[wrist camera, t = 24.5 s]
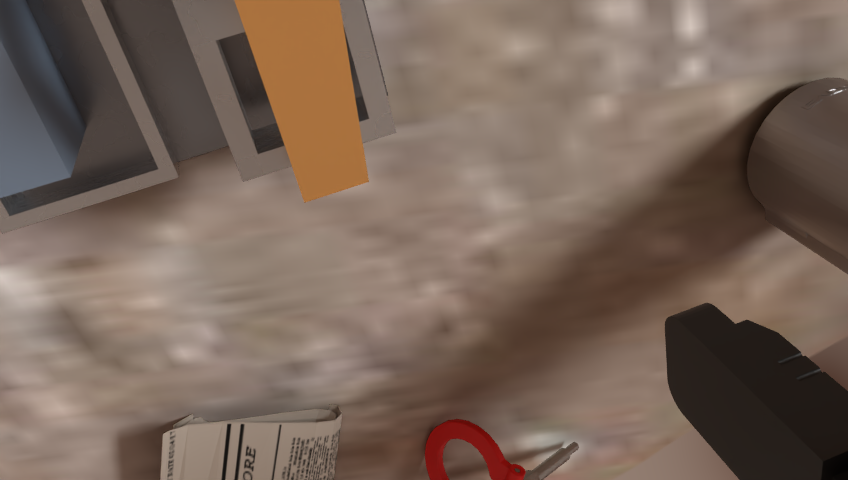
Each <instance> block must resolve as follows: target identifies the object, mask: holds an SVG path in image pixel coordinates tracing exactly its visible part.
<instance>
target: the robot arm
mask: <svg viewBox="0 0 848 480" xmlns="http://www.w3.org/2000/svg"><path fill="white" fill-rule="evenodd" d="M747 179H748V183H749V188H750V190H751V192H752V193H753V195H754V197H755V198H756V199H757V200H758V201H759V202H760V203H761V204H762V205H763V206H764V208H765V220H767V221H768V222H770V223H771V224H773V225H774V226H776V227H777V228H779V229H780V230H782V231H783V232H785V233H786V234H788V235H789V236H791V237H792V238H794V239H795V240H797V241H798V242H800V243H801V244H803V245H804V246H806V247H807V248H809V249H810V250H812V251H813V252H815V253H816V254H818V255H819V256H821V257H822V258H824V259H825V260H827V261H828V262H830V263H831V264H833V265H835V266H836V267H838V268H839V269H841V270H842V271H844V272H845V273H847V274H848V81H847V80H844V79H841V78H824V79H820V80H816V81H812V82H810V83H808V84H806V85H804V86H801V87H799V88H798V89H796V90H795V91H794V92H792V93H791V94H789V95H788V96H786V97H785V98H784V99H783V100H782V101H781V102H780V103H779V104H778V105H777V106H776V107H775V108H774V109H773V110H772V111H771V113H770V114H769V115H768V116H767V117H766V119H765V120H764V122H763V123H762V125H761V127H760V128H759V130H758V132H757V133H756V135H755V138H754V141H753V143H752V146H751V148H750V152H749V157H748V162H747ZM665 339H666V358H667V377H668V384H669V388H670V391H671V394H672V396H673V399H674V401H675V403H676V405H677V406H678V408H679V409H680V411H681V412H682V414H683V415H684V416H685V417H686V418H687V419H688V421H689V422H690V423H691V424H692V425H693V426H694V428H695V429H696V430H697V431H698V432H699V433H700V435H701V436H702V437H703V438H704V439H705V440H706V441H707V443H708V444H709V445H710V446H711V447H712V448H713V450H714V451H715V452H716V453H717V454H718V455H719V456H720V458H721V459H722V460H723V461H724V462H725V463H726V465H727V466H728V467H729V468H730V469H731V470H732V471H733V473H734V474H735V475H736V476H737V477H738V479H739V480H848V391H847V390H846V389H845V388H843V387H842V386H841V385H840V384H838V383H837V382H836V381H835V380H834V379H833V378H831V377H830V376H829V375H828V374H827V373H825V372H823V373H822V372H821V370H820V368H819V367H818V366H817V365H816V364H815V363H813V362H812V361H811V360H810V359H809V358H808V357H806V356H802V354H801V352H800V351H799V350H798V349H797V348H796V347H794V346H793V345H792V344H791V343H790V342H788V341H787V340H786V339H785V338H784V337H782V336H781V335H780V334H779V333H778V332H775V331H773V330H770V329H768V328H766V327H763V326H761V325H759V324H756V323H754V322H751V321H749V320H745V321H742V322H740V323H737V324H735V323H734V322H732V321H731V320H730V319H729V318H728V317H727V316H726V315H725V314H723V313H722V312H721V311H720V310H719V309H718V308H717V307H715V306H714V305H712V304H710V303H704V304H702V305H699V306H696V307H694V308H691V309H688V310H686V311H683V312H680V313H678V314H675V315H673V316H670V317H668V318H667V319H666V321H665Z"/></svg>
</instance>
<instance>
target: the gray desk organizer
mask: <svg viewBox="0 0 848 480" xmlns="http://www.w3.org/2000/svg"><path fill="white" fill-rule="evenodd" d="M26 2H27V4H28V6H29V8H30V10H31V12H32V15H33V17H34V19H35V21H36V23H37V25H38V27H39V29H40V31H41V33H42V35H43V37H44V39H45V42H46V44H47V46H48V48H49V50H50V52H51V54H52V56H53V58H54V60H55V62H56V64H57V66H58V68H59V71H60V73H61V75H62V77H63V79H64V81H65V83H66V85H67V87H68V89H69V91H70V93H71V95H72V98H73V100H74V102H75V104H76V106H77V108H78V110H79V112H80V114H81V116H82V118H83V120H84V122H85V125H86V131H85V134H84V137H83V140H82V143H81V146H80V149H79V153H78V156H77V159H76V162H75V165H74V168H73V171H72V175H71V177H69V178H66V179H63V180H59V181H56V182H53V183H49V184H46V185H43V186H39V187H36V188H33V189H29V190H26V191H23V192H19V193H16V194H12V195H9V196H6V197H2V198H0V231H1V232H2V234H3V233H6V232H9V231H12V230H15V229H18V228H21V227H25V226H28V225H31V224H34V223H37V222H40V221H43V220H47V219H50V218H53V217H56V216H59V215H62V214H65V213H69V212H72V211H75V210H78V209H81V208H84V207H87V206H91V205H94V204H97V203H100V202H103V201H106V200H109V199H113V198H116V197H119V196H122V195H125V194H128V193H131V192H135V191H138V190H141V189H144V188H147V187H150V186H153V185H157V184H160V183H163V182H166V181H169V180H172V179H176V178H179V165H178V162H179V161H182V160H186V159H189V158H192V157H195V156H198V155H201V154H205V153H208V152H211V151H214V150H217V149H220V148H224V147H227V146H229V147H230V150H231V153H232V155H233V158H234V160H235V163H236V165H237V168H238V170H239V173H240V175H241V178H242V181H243V182H244V181H248V180H251V179H254V178H257V177H260V176H263V175H266V174H269V173H272V172H275V171H279V170H282V169H285V168H288V167H291V166H292V165H291V162H290V159H289V156H288V153H287V150H286V148H285V145H284V142H283V139H282V136H281V133H280V130H279V127H278V125H277V122H276V119H275V116H274V113H273V110H272V107H271V104H270V101H269V99H268V96H267V93H266V90H265V87H264V84H263V81H262V78H261V76H260V73H259V70H258V67H257V64H256V61H255V58H254V55H253V52H252V50H251V47H250V44H249V41H248V38H247V35H246V32H245V29H244V27H243V24H242V21H241V18H240V15H239V12H238V9H237V6H236V4H235V1H234V0H26ZM339 2H340V8H341V14H342V20H343V27H344V33H345V39H346V45H347V51H348V57H349V63H350V69H351V76H352V82H353V88H354V94H355V100H356V106H357V112H358V119H359V125H360V131H361V137H362V143H365V142H368V141H372V140H375V139H378V138H381V137H384V136H387V135H390V134H393V133H396V130H395V126H394V122H393V118H392V114H391V110H390V106H389V102H388V98H387V96H388V93H387V89H386V85H385V81H384V77H383V73H382V69H381V65H380V62H379V58H378V54H377V50H376V46H375V42H374V38H373V34H372V30H371V26H370V22H369V18H368V14H367V11H366V7H365V3H364V0H339Z"/></svg>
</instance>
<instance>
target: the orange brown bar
mask: <svg viewBox="0 0 848 480" xmlns="http://www.w3.org/2000/svg"><path fill="white" fill-rule="evenodd" d="M234 1H235V4H236V6H237V9H238V12H239V15H240V18H241V21H242V24H243V27H244V29H245V32H246V35H247V38H248V41H249V44H250V47H251V50H252V52H253V55H254V58H255V61H256V64H257V67H258V70H259V73H260V76H261V78H262V81H263V84H264V87H265V90H266V93H267V96H268V99H269V101H270V104H271V107H272V110H273V113H274V116H275V119H276V122H277V125H278V127H279V130H280V133H281V136H282V139H283V142H284V145H285V148H286V150H287V153H288V156H289V159H290V162H291V165H292V168H293V171H294V174H295V176H296V179H297V182H298V185H299V188H300V191H301V194H302V197H303V199H304V202H308V201H311V200H314V199H317V198H320V197H323V196H326V195H329V194H332V193H335V192H339V191H342V190H345V189H348V188H351V187H354V186H357V185H360V184H363V183H366V182H369V180H368V174H367V168H366V161H365V155H364V149H363V143H362V137H361V131H360V125H359V119H358V112H357V106H356V100H355V94H354V88H353V82H352V76H351V69H350V63H349V57H348V51H347V45H346V39H345V33H344V27H343V20H342V14H341V8H340V2H339V0H234Z"/></svg>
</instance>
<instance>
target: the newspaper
mask: <svg viewBox="0 0 848 480" xmlns="http://www.w3.org/2000/svg"><path fill="white" fill-rule="evenodd" d="M341 420H342V412H341V410H340V408H339V406H338V405H332V404H329V410H324V409H309V410H301V411H292V412H283V413H277V414H270V415H264V416H257V417H249V418H242V419H234V420H226V421H218V422H208V421H205V420H203V419H202V418H201V417H199V418H195V419H193V414H191V415H189V416H188V417H186V418H184V419H183V420H181V421H179V422H177V423H176V424H174V425H173V430H170V431H168V432H166V433H164V434H163V437H162V455H161V472H160V480H334V475H335V467H336V459H337V451H338V443H339V435H340V428H341Z"/></svg>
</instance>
